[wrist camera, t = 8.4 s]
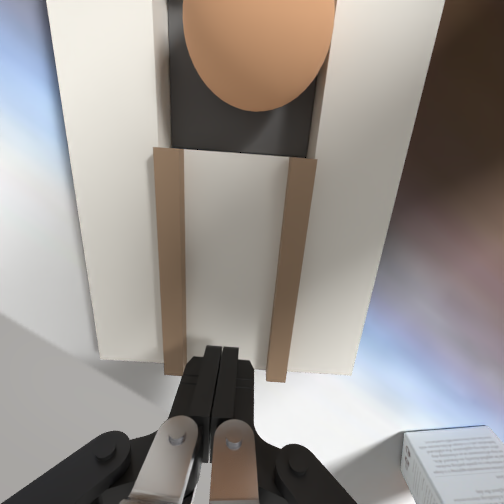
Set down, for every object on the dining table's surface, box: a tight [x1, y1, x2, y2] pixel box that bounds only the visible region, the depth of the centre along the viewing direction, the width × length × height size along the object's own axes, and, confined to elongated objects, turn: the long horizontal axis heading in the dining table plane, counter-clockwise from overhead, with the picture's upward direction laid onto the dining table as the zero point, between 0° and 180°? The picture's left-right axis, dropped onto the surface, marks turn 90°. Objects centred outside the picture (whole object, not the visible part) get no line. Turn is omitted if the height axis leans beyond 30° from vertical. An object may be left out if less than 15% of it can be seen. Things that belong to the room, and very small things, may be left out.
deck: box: [46, 0, 445, 383], centre depth 12 cm, size 20×14×3 cm
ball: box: [183, 0, 335, 112], centre depth 9 cm, size 5×5×5 cm
